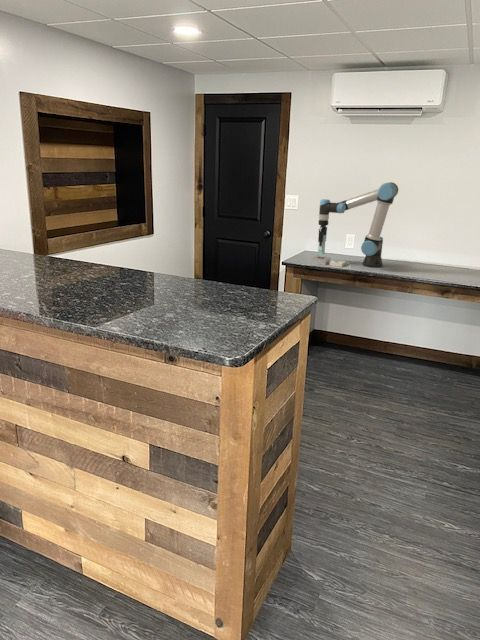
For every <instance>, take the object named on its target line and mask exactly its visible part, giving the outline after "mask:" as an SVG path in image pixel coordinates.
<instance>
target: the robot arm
mask: <svg viewBox="0 0 480 640" xmlns="http://www.w3.org/2000/svg"><path fill="white" fill-rule="evenodd" d="M398 193H399V187H398V185H397V184H396V183H395V182H385V183H382V184H381V185H380V186H379V187H378V189H375V190H372V191H367V192H366V193H363V194H361V195H360V194H359V195H357V196H355V197H351V198H348V199H345V200H342V201H339V202H331V199H327V198H326V199H325V198H324V199H322V198H321V199H320V200H319V201H320V202H319V209H318V210H319V214H318V219H319V220H318V225H319V228H318V238H317V239H318V241H317V242H318V246H319V250H322V248H323V235H326V236H327V235H328V234H327V232H328V227H327V226H328V225H329V219H330V214H331V213H332V214H344V213H345V211H348V210H351V209H354V208H355V209H356V208H358V207H360V206H364V205H367V204H369V203H370V204H371V203H373V202H377V204H376V208H375V211H374V215H373V218H372V221H371V224H370V228H369V231H368V234H367V235H365V237H364V240H363V243H362V244H361V246H360V250H361V252H362V253H363V255H365V257H364V259H363V262H362V265H363V266H364V267H369V268H382V267H383V258H382V251H383V244H384V238H383V237H382V236H381V235H382V230H383V227H384V225H385V223H386V218H387V216H388V213H389V208H390V206H391V205H393V203H394V199H395V197H397V195H398ZM325 242H327V239H326V240H325Z"/></svg>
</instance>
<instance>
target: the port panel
mask: <svg viewBox="0 0 480 640" xmlns="http://www.w3.org/2000/svg"><path fill="white" fill-rule="evenodd" d="M331 261H332V260H331V257H329V256H323V255H319V254H318V255H315V256H313V257H311V259H310V264H313V265H323V266H326V265H329V264H330V262H331Z"/></svg>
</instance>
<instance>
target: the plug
mask: <svg viewBox="0 0 480 640" xmlns="http://www.w3.org/2000/svg"><path fill="white" fill-rule="evenodd" d="M325 240H326V241H327V234H326V235H323V248H322V250H319V245H318V246H317V247H318V248H317V249H318V250H317V254H318V255H319V256H323V255H325V250H326V249H325V248H326V241H325Z"/></svg>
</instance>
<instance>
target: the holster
mask: <svg viewBox="0 0 480 640" xmlns="http://www.w3.org/2000/svg"><path fill="white" fill-rule="evenodd" d="M346 264H347V261H345V260H339V259H337V260H336V259H333V260H330V263H328V266H332V267H344V266H345V265H346Z"/></svg>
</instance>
